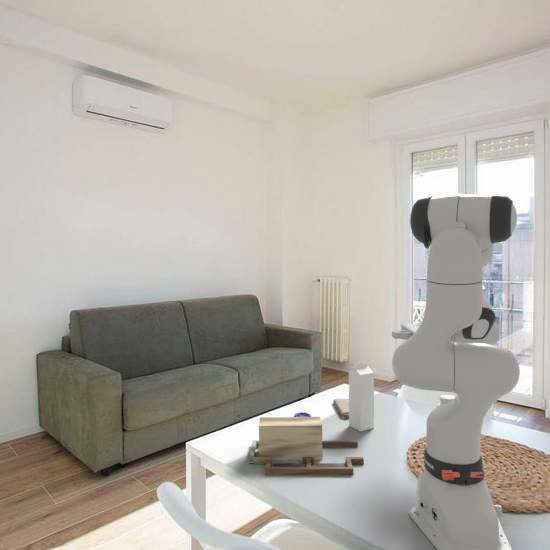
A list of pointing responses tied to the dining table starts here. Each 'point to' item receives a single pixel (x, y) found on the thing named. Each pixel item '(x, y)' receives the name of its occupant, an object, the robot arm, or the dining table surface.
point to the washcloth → (342, 407)
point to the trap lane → (309, 462)
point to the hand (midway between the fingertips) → (392, 334)
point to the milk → (361, 397)
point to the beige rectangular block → (290, 438)
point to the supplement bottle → (445, 399)
